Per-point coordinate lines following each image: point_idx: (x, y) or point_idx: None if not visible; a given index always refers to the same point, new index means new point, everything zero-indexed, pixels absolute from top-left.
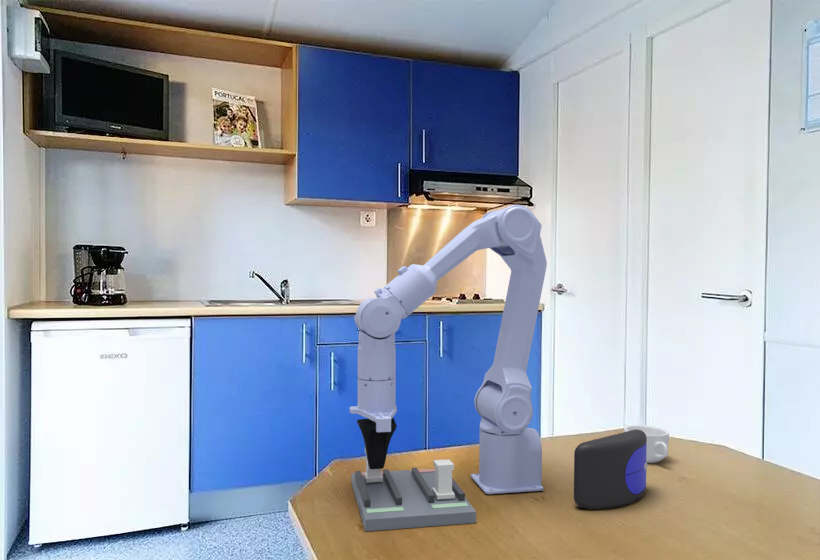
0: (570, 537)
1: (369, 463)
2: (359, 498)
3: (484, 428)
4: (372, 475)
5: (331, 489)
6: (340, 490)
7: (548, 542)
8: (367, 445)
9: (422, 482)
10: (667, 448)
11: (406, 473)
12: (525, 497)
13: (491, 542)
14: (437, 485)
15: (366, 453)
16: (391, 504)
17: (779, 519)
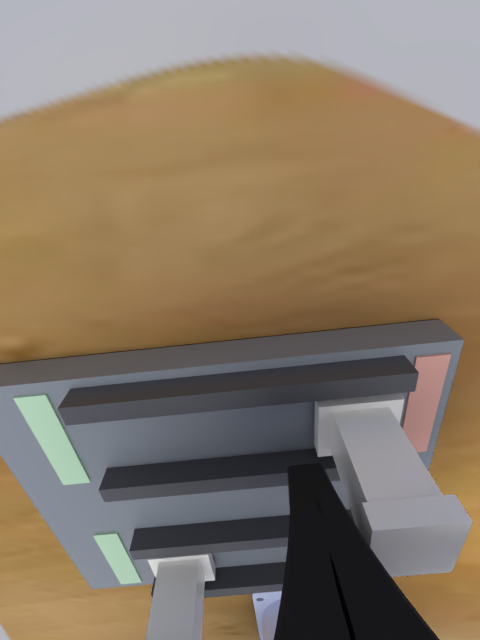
0: (64, 635)
1: (291, 490)
2: (156, 372)
3: None
4: (334, 432)
5: (387, 240)
6: (365, 279)
7: (37, 617)
8: (279, 620)
9: (241, 544)
10: None
11: None
12: (236, 619)
13: (11, 567)
14: (165, 585)
15: (336, 526)
16: (110, 457)
17: None
